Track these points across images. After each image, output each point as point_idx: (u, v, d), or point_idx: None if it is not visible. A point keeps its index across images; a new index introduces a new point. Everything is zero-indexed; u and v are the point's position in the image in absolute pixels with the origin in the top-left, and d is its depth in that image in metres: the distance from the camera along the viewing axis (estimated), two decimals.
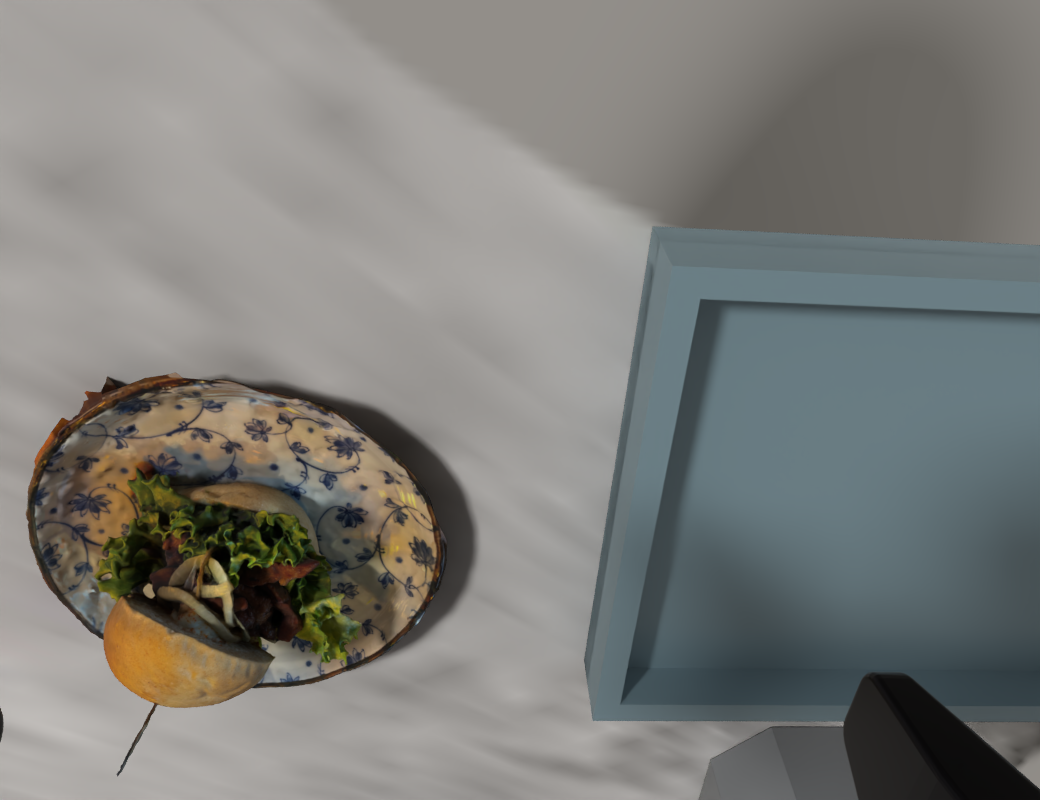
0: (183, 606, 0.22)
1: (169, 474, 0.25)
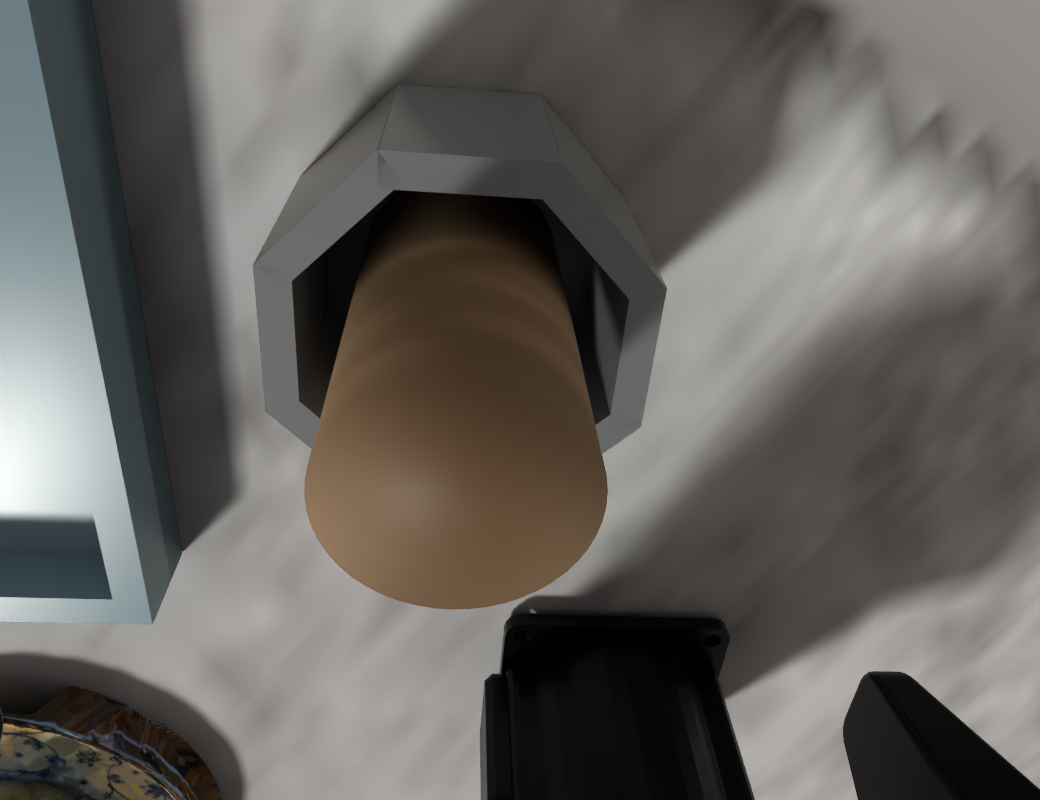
0: None
1: None
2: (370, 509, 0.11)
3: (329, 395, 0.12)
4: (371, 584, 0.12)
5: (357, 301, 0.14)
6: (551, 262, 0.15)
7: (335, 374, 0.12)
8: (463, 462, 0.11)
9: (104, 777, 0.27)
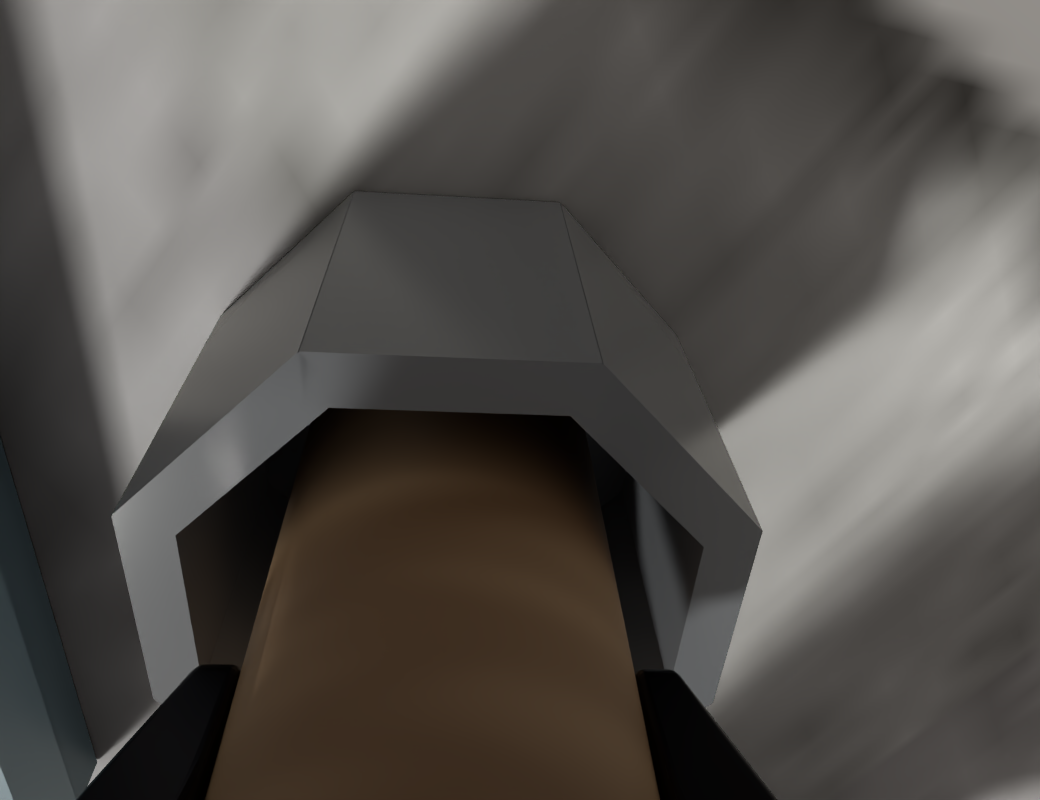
0: None
1: None
2: None
3: None
4: None
5: (276, 573, 0.09)
6: (580, 470, 0.10)
7: (220, 761, 0.07)
8: None
9: None
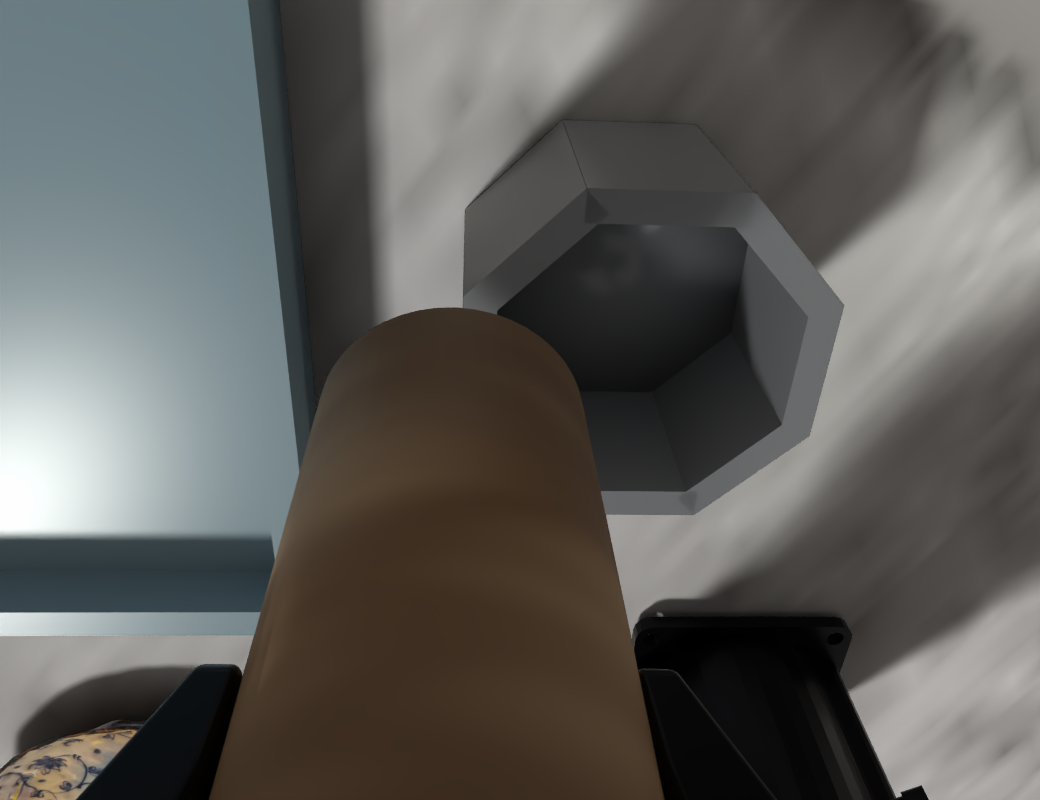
0: None
1: None
2: None
3: None
4: None
5: (280, 572, 0.09)
6: (583, 469, 0.10)
7: (224, 759, 0.07)
8: None
9: None
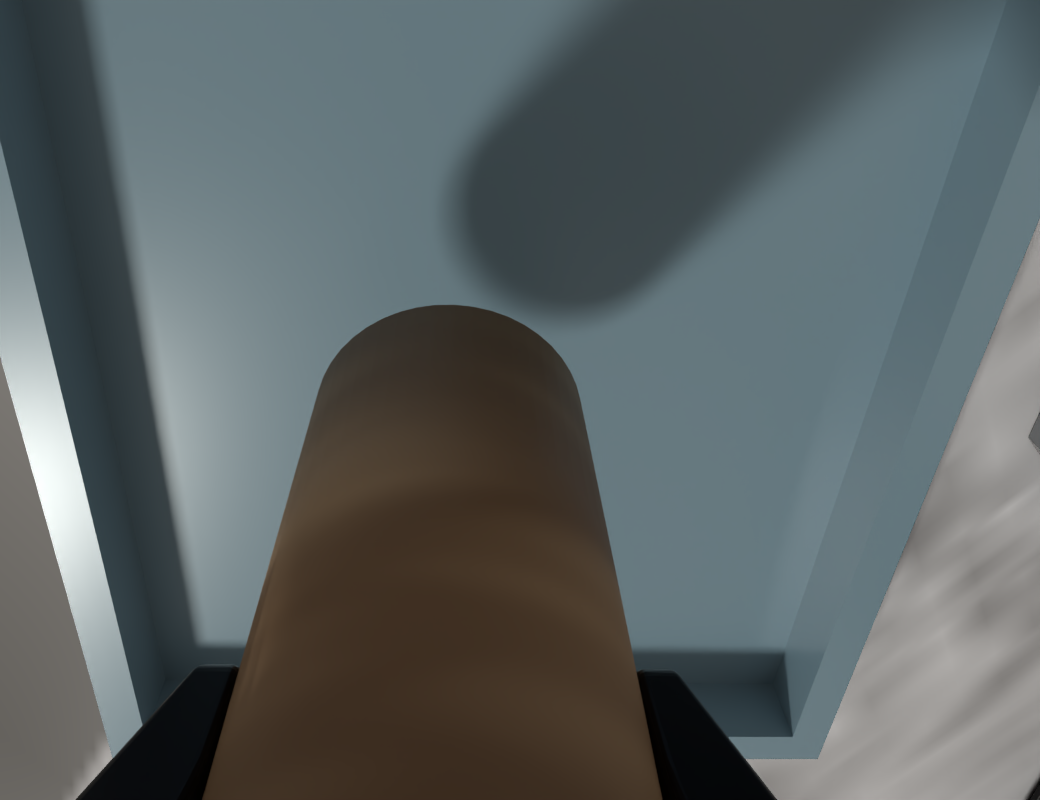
0: None
1: None
2: None
3: None
4: None
5: (275, 570, 0.09)
6: (581, 467, 0.10)
7: (218, 758, 0.07)
8: None
9: None
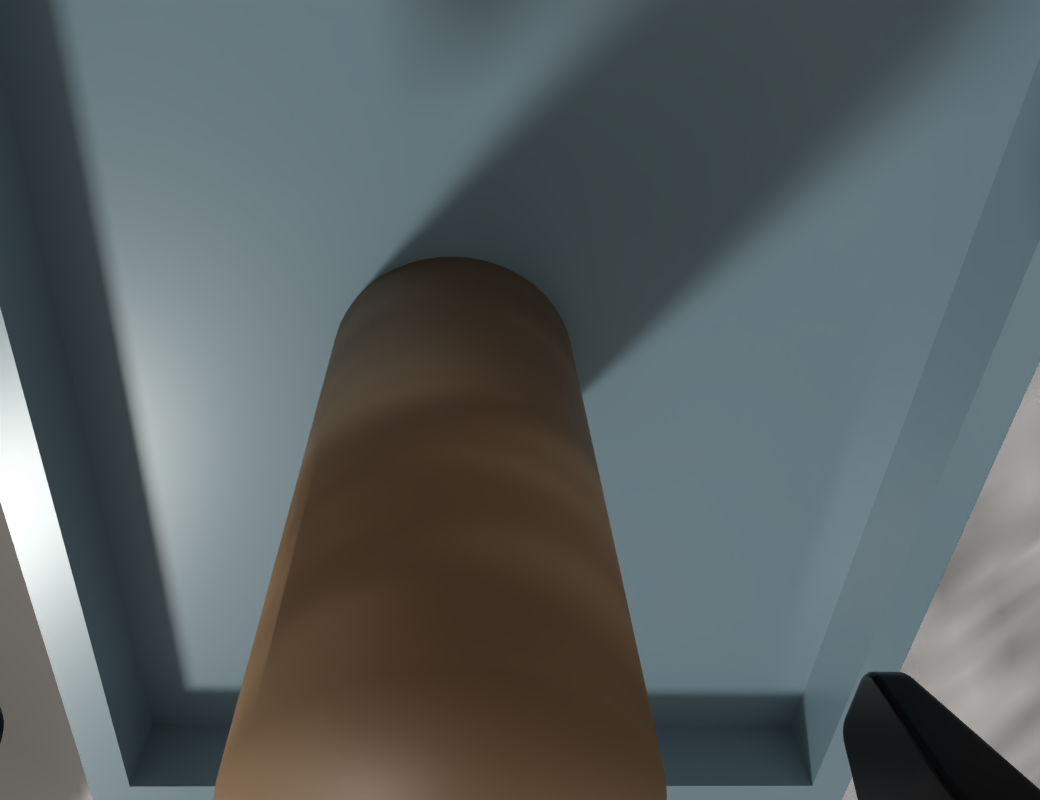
0: None
1: None
2: None
3: (255, 648, 0.08)
4: None
5: (307, 469, 0.10)
6: (570, 392, 0.12)
7: (267, 606, 0.08)
8: (452, 773, 0.07)
9: None
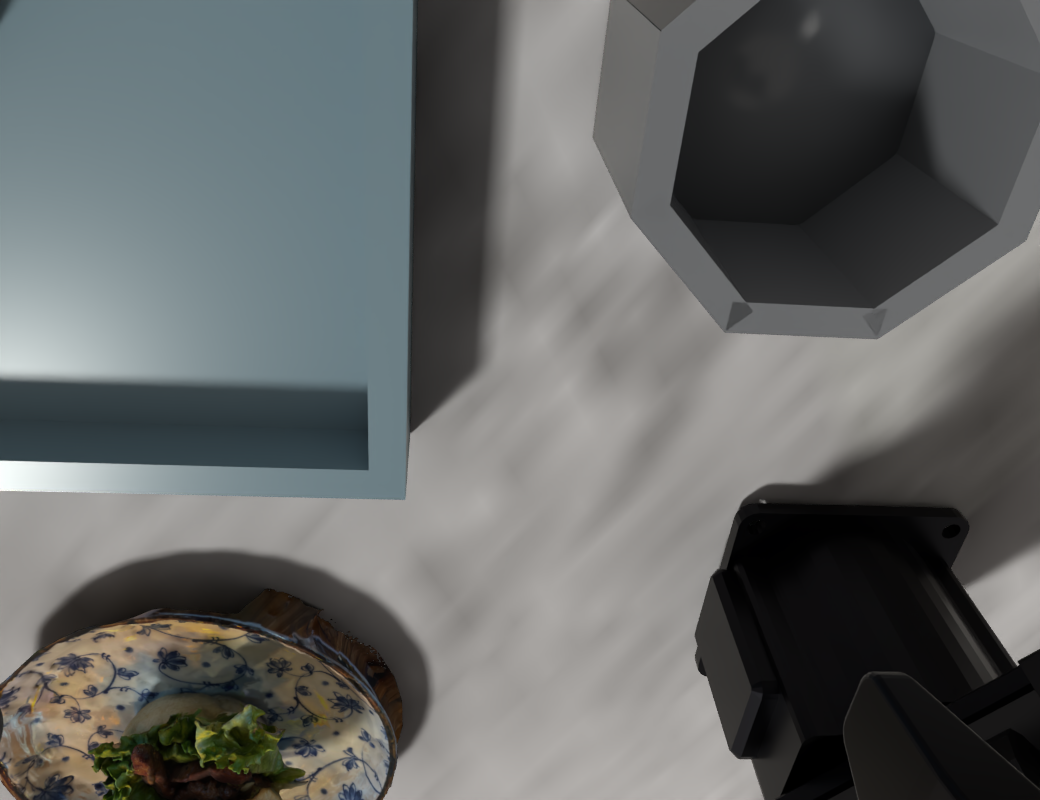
0: None
1: None
2: None
3: None
4: None
5: None
6: None
7: None
8: None
9: (291, 688, 0.25)
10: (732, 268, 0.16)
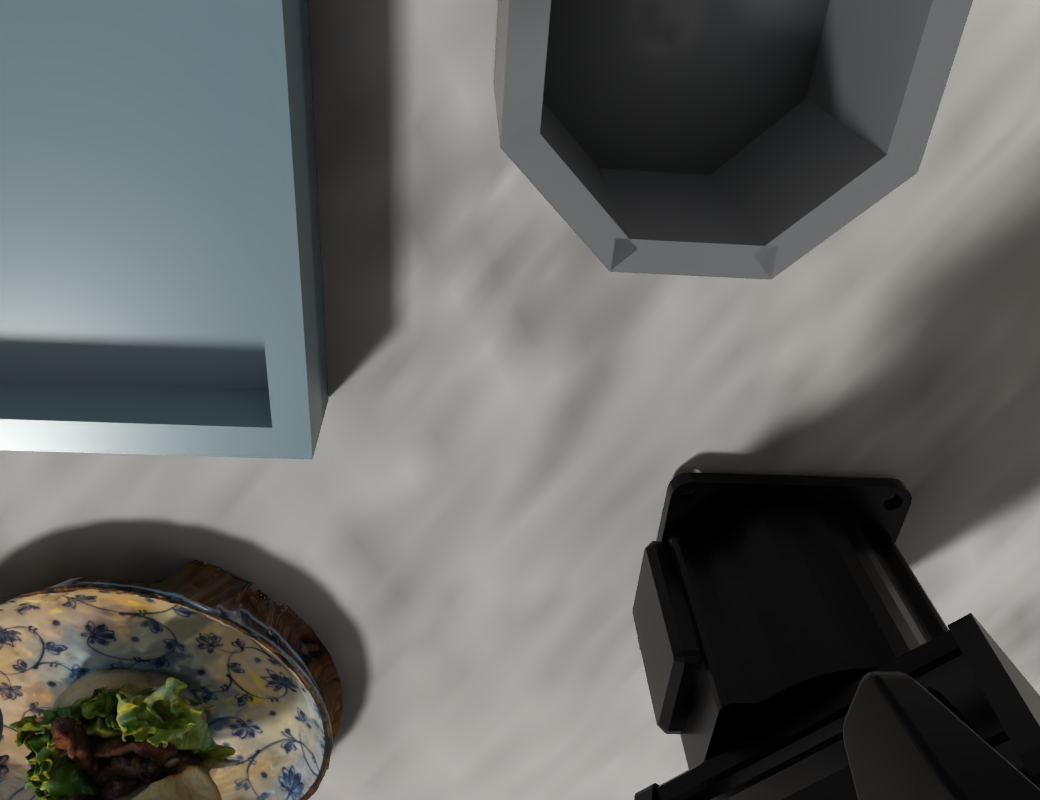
0: None
1: None
2: None
3: None
4: None
5: None
6: None
7: None
8: None
9: (223, 665, 0.25)
10: (625, 210, 0.16)
